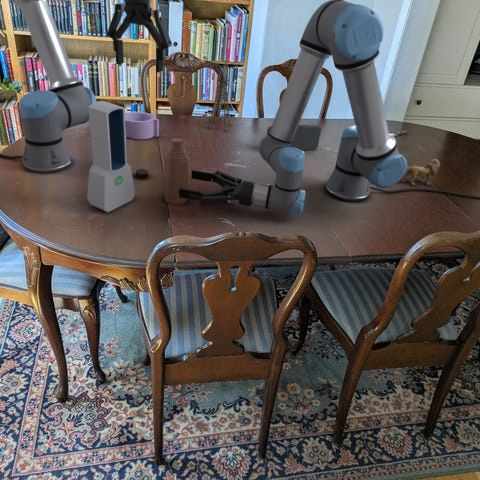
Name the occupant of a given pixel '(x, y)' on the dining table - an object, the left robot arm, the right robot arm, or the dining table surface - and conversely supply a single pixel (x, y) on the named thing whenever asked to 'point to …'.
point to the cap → (141, 173)
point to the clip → (141, 125)
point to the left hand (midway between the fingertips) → (139, 67)
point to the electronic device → (109, 158)
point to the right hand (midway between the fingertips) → (185, 183)
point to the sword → (396, 134)
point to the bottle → (175, 172)
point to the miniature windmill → (222, 80)
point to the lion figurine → (422, 171)
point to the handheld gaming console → (305, 137)
